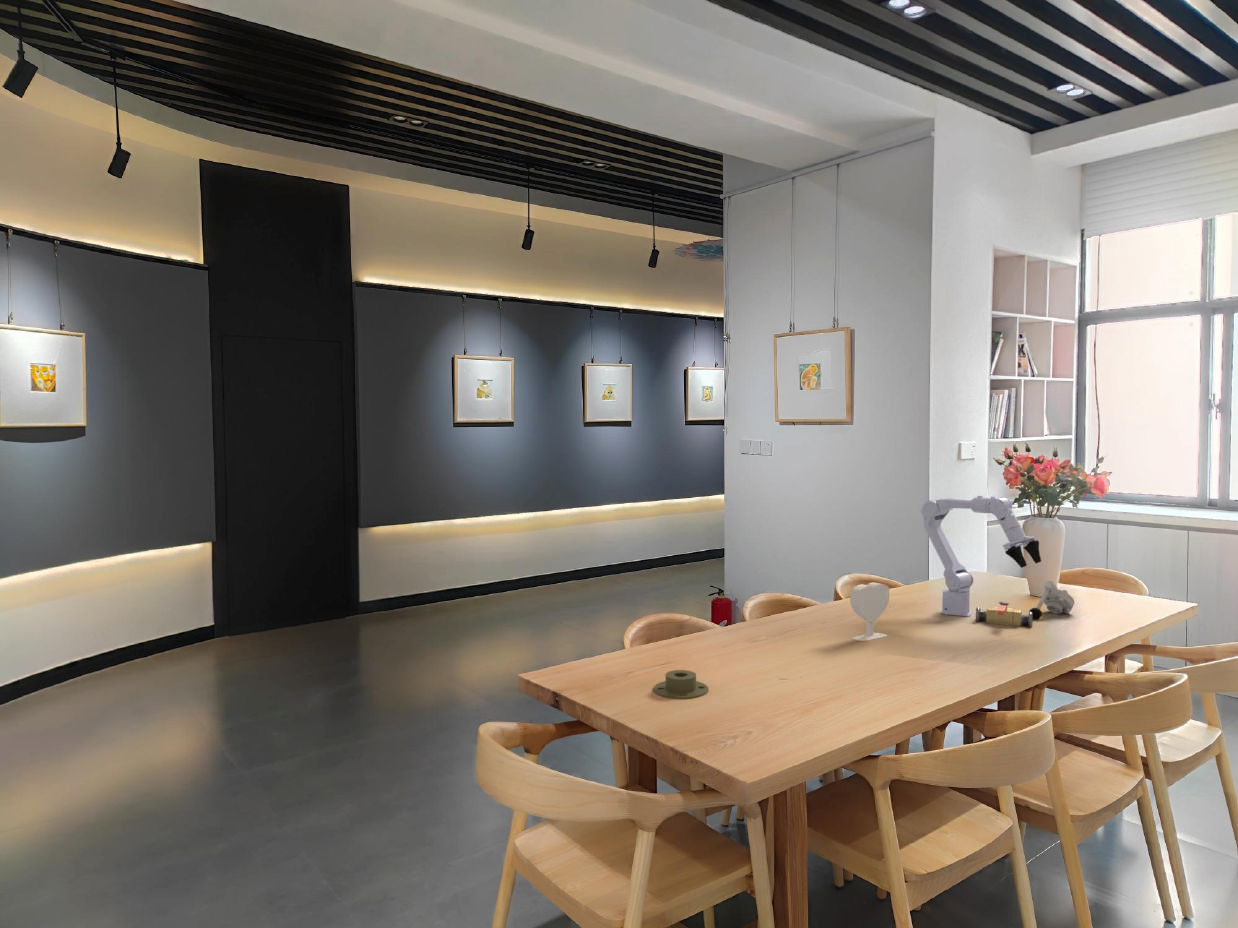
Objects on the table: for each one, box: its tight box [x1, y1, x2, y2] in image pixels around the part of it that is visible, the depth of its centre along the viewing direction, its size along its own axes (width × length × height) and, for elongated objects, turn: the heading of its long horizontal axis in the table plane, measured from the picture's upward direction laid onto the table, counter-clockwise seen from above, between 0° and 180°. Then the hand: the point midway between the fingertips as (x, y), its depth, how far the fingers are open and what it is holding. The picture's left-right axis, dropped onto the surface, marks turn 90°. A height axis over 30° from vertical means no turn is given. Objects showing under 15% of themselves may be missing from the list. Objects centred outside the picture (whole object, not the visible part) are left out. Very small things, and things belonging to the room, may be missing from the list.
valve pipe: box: [975, 606, 1034, 628], centre depth 290 cm, size 18×6×6 cm, turn 60°
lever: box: [998, 601, 1010, 615], centre depth 285 cm, size 13×3×2 cm, turn 150°
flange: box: [653, 669, 709, 700], centre depth 223 cm, size 5×15×15 cm
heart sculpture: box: [849, 581, 890, 642], centre depth 274 cm, size 16×5×18 cm, turn 122°
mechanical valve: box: [1028, 580, 1075, 620], centre depth 300 cm, size 10×18×15 cm
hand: (1031, 564), depth 282 cm, fingers open, 7 cm apart
